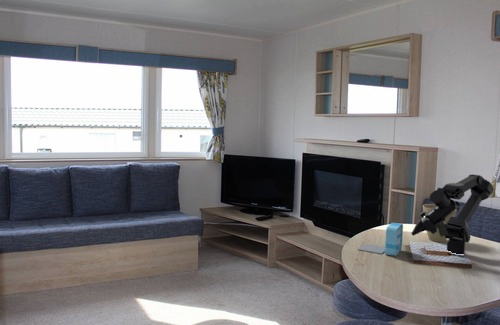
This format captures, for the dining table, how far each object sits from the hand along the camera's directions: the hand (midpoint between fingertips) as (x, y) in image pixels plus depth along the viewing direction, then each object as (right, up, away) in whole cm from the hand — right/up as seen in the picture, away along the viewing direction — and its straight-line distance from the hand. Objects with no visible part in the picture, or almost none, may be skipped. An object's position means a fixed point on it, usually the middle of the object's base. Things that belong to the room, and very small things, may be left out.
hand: (412, 234), depth 199 cm
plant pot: (+21, -7, +25) cm, 33 cm away
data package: (-7, -8, +3) cm, 11 cm away
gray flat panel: (-15, -7, +7) cm, 18 cm away
